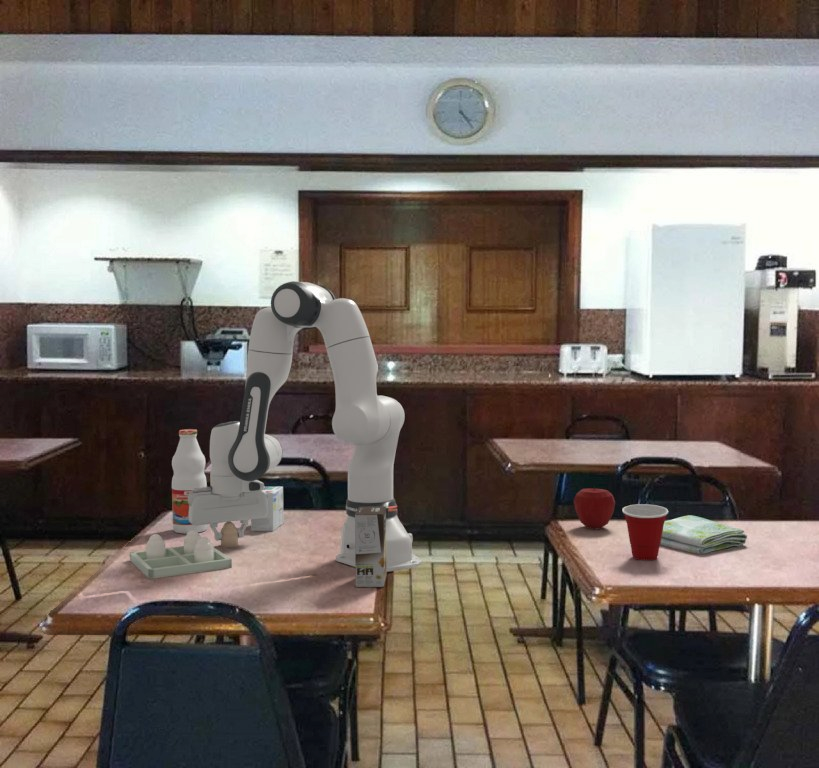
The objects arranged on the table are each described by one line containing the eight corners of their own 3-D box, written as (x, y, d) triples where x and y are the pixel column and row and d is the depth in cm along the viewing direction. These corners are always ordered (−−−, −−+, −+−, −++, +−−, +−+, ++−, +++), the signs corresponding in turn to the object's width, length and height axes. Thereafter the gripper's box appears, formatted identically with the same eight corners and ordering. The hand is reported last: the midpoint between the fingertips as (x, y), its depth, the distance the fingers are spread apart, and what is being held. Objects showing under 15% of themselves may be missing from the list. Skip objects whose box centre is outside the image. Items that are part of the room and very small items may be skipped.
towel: (701, 557, 229) (701, 536, 228) (636, 540, 247) (636, 521, 246) (750, 546, 238) (750, 526, 238) (684, 531, 256) (684, 512, 256)
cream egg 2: (204, 558, 228) (204, 530, 227) (186, 560, 226) (186, 532, 225) (199, 554, 232) (199, 527, 231) (181, 556, 230) (181, 529, 229)
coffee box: (384, 587, 203) (383, 514, 202) (355, 587, 203) (354, 514, 202) (387, 576, 212) (386, 505, 211) (358, 576, 213) (357, 505, 212)
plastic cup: (618, 561, 223) (619, 511, 223) (624, 550, 234) (625, 503, 233) (666, 565, 220) (666, 514, 219) (669, 554, 230) (670, 505, 229)
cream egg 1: (167, 562, 223) (167, 535, 223) (149, 565, 221) (148, 537, 221) (163, 558, 227) (162, 531, 227) (144, 561, 225) (143, 533, 225)
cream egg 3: (216, 566, 220) (215, 537, 220) (197, 568, 218) (197, 540, 217) (210, 562, 224) (210, 534, 223) (192, 564, 222) (191, 536, 221)
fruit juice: (210, 526, 266) (207, 427, 264) (205, 533, 257) (202, 431, 255) (176, 527, 266) (173, 428, 264) (170, 534, 256) (167, 432, 254)
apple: (621, 527, 260) (621, 485, 260) (602, 534, 252) (602, 490, 252) (586, 521, 268) (587, 481, 267) (566, 528, 260) (566, 486, 259)
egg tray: (231, 569, 219) (231, 559, 219) (149, 581, 210) (149, 570, 210) (207, 552, 235) (207, 542, 235) (130, 562, 226) (129, 552, 226)
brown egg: (240, 548, 240) (240, 522, 240) (223, 550, 238) (223, 524, 237) (235, 544, 244) (234, 519, 243) (218, 546, 242) (217, 521, 241)
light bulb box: (261, 522, 270) (260, 485, 270) (284, 523, 270) (283, 486, 269) (250, 531, 260) (249, 492, 259) (273, 531, 259) (273, 492, 258)
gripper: (191, 490, 232) (192, 546, 233) (269, 483, 242) (271, 536, 243) (184, 486, 237) (185, 541, 238) (261, 479, 247) (262, 531, 248)
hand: (229, 538), depth 241 cm, fingers closed on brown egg, 4 cm apart
